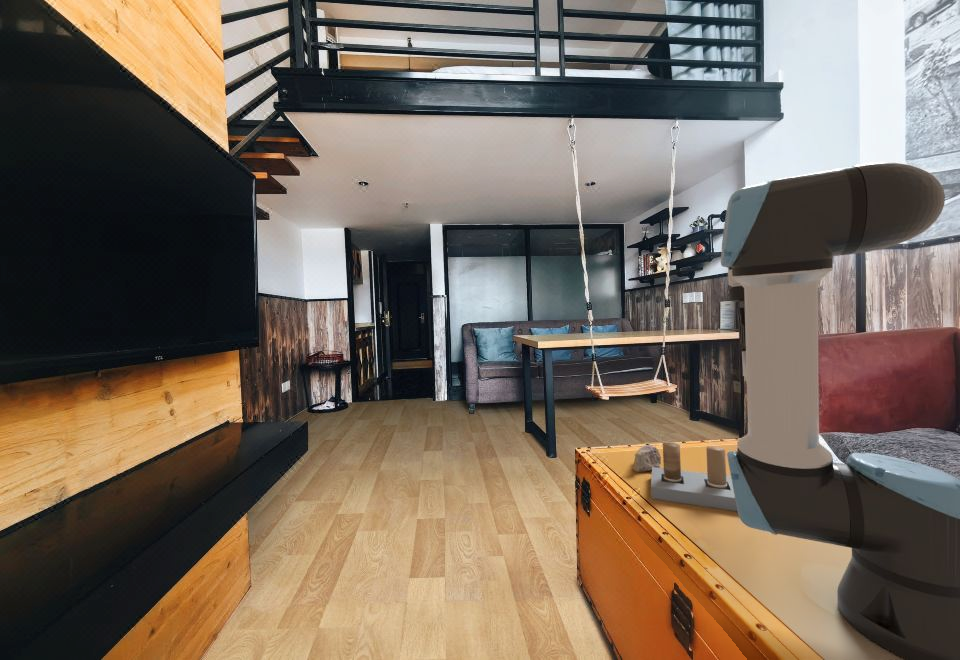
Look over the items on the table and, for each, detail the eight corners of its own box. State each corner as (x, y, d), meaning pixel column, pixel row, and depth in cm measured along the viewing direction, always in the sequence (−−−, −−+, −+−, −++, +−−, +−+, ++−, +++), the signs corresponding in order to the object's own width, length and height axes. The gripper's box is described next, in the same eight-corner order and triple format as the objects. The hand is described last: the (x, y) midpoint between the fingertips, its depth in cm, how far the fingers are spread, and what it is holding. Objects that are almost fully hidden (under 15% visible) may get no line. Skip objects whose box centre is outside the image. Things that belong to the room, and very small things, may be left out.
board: (747, 512, 85) (745, 460, 85) (651, 498, 94) (649, 451, 94) (736, 487, 98) (734, 442, 98) (652, 477, 107) (650, 435, 107)
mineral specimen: (658, 477, 107) (657, 456, 107) (631, 473, 111) (630, 452, 111) (663, 463, 118) (662, 443, 118) (639, 459, 121) (638, 440, 121)
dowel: (682, 494, 95) (680, 448, 95) (664, 492, 97) (662, 446, 97) (681, 488, 99) (679, 443, 99) (664, 486, 101) (662, 441, 101)
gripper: (770, 281, 89) (774, 380, 89) (758, 286, 101) (761, 373, 101) (733, 284, 93) (736, 379, 93) (725, 288, 104) (728, 372, 104)
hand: (749, 376), depth 97 cm, fingers closed
